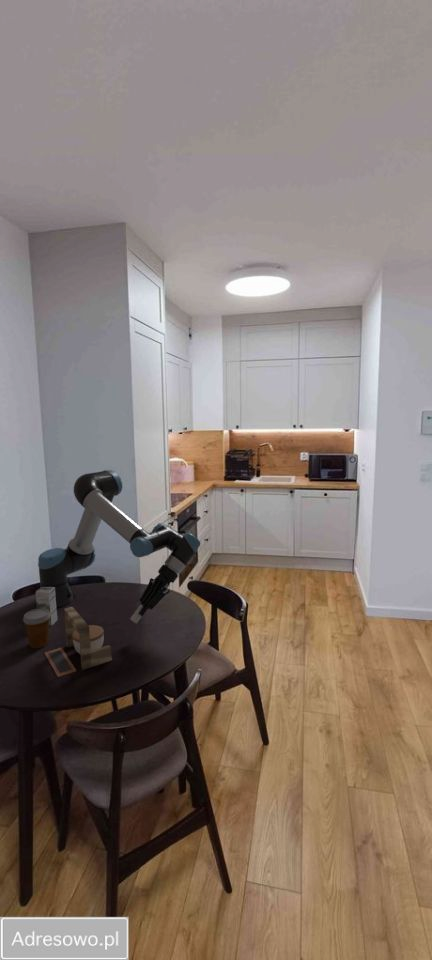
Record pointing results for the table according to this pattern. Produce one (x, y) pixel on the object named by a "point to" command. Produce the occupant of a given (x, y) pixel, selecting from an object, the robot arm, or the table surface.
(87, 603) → the table surface
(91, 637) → the lidded jar
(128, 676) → the table surface
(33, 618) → the disposable coffee cup
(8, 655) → the table surface
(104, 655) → the tunnel
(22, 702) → the table surface
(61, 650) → the framed chalkboard
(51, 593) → the syrup box
